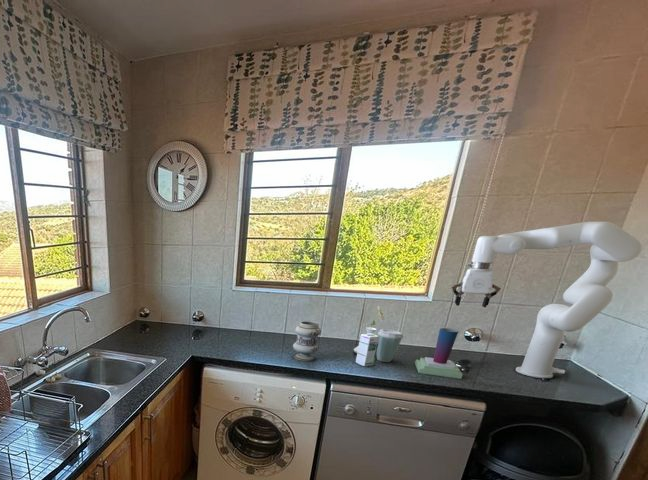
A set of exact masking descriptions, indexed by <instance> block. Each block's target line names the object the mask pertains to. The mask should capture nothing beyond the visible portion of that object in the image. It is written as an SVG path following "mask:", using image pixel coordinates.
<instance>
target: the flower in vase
mask: <svg viewBox="0 0 648 480" xmlns="http://www.w3.org/2000/svg"><path fill="white" fill-rule="evenodd" d="M377 312H378V313H377V314H376V315H375V316H374V318H373V319H372V322H371V323H370V324H369V326H366V327H365V330H366V334H370V333H371V334H375V332H376V331H377V330H378V329H377V328H376V327H373V326H375V325H376V320H375V319H376V318H377V317H378V316H380V319H381V320H382V321H385V317H384V315H383V314H384V313H383V312H382V309H381V306H380V305H377ZM358 347H359V345H357V346H356V347H354V348H353V352H354V353H356V354H357V353H358ZM376 356H377V352H376Z"/></svg>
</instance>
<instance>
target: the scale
mask: <svg viewBox="0 0 648 480" xmlns="http://www.w3.org/2000/svg"><path fill="white" fill-rule="evenodd" d="M451 362H452V363H453V365H454V366H455V369H450V368H442V367H435V366H427V364H426V362H425V357H420V359H415V362H414V365H415V367H416V370H417V372H418V374H424V375H431V376H438V377H445V378H453V379H460V380H461V379H463V376H464V375H463V373H462V371H461V370H460V368H459V366H458V365H457V364H455V362H454V361H451Z"/></svg>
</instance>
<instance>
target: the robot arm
mask: <svg viewBox="0 0 648 480" xmlns="http://www.w3.org/2000/svg"><path fill="white" fill-rule="evenodd" d="M581 245H591V246H590V249H589V256H590V264H589V266H588V268H587V269H586V271H584V272H583V274H582V275H581V276H580V277H578V279H576V280H575V281H574V282H573V283H572V284H570V286H569V287H568V288H567V289H565V291H564V292H563V295H562V299H563V301H564V302H565V303H567V304H569V305H566V304H561V303H550V304H546V305H544V306H543V307H542V308H541V309H540V310H539V311H538V313H537V316H536V321H535V328H534V331H533V333H532V337H531V339H530V342H529V345H528V347H527V349H526V350H527V351H526V354H525V355H524V359H523V361H522V364H521V366H516V367H515V372H517V373H519V374H520V375H524V376H528V377H531V378H537V379H552V378H553V377H554V374H559V375H564V374H565V373H566V370H565V369H561V368H559V367H554V366H553V364H554V362H555V359H556V357H557V354H558V352H559V350H560V347H561V344H562V342H563V340H564V335H565V332H567V333H569V332H576V331H579V330H580V329H582V328H584V327H585V326H586V325H588V324H589V323H590V322H591V321H592V320H593V319H595V318H596V317H597V316H598V315H599V314H600V313H601V312H602V311H604V309H606V308H608V306H609V305H610V303H611V301H612V300H613V291H612V290H611V288H609V287H608V285H609V283H610V282H611V281H613V279H614V278H615V277H616V275H617V273H618V270H619V263H625V262H630V261H632V260H634V259H636V258H638V256H640V254H641V253H642V250H643V245H642V243H641V241H640V240H639V239H637V238H636V237H635V236H633V235H631V234H630V233H629V232H627V231H626V230H624V229H623V228H622V227H620V226H618V225H617V224H615V223H614V222H610V221H584V222H577V223H571V224H565V225H559V226H551V227H544V228H538V229H531V230H530V229H529V230H523V231H522V230H521V231H515V232H509V233H503V234H499V235H481V236H479V237H478V238H477V240H476V244H475V247H474V251H473V255H472V259H471V261H470V262H467V263H466V267H468V269H467V270H466V272H465V274H464V277H463V278H462V281H461V282H459V283H455V284H453V285H451V290H452V293H453V294H454V295H455V300H454V304H455V306H457V307H459V306H460V305H461V301H462V295H463V294H476V295H485V297H483V300H482V301H483V302H482V304H481V306H482V307H483V308H487V306H488V305H489V303H490V300H491V299H492V298H493V297H494V296H496V295H497V294H498V293H499V292H500V291H501V290H502V288H501V287H499V286H498V285H495V284H494V278H495V270H494V269H493V267H494V264H495V260H496V258H497V254H500V255H501V254H503V255H508V256H509V255H516V254H518V253H520V252H522V251H523V250H552V249H559V248H565V247H573V246H581ZM459 287H460V288H459ZM457 288H459V289H460V290H459V291H458V290H457ZM492 288H493V291H492ZM570 305H571V306H570Z"/></svg>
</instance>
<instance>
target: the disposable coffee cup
mask: <svg viewBox="0 0 648 480" xmlns="http://www.w3.org/2000/svg"><path fill="white" fill-rule="evenodd" d="M377 335H378V336H380V338H379V343H378V348H377V355H376V360H377V361H379V362H383V363H384V362H385V363H390V362H392V361H393V359H394V357H395V354H396V352H397V350H398V348H399V346H400V343H401V341H402V339H403V338H404V334H403V333H402V332H400V331H398V330H394V329H388V328H381V329H379V331H378V332H377Z"/></svg>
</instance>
